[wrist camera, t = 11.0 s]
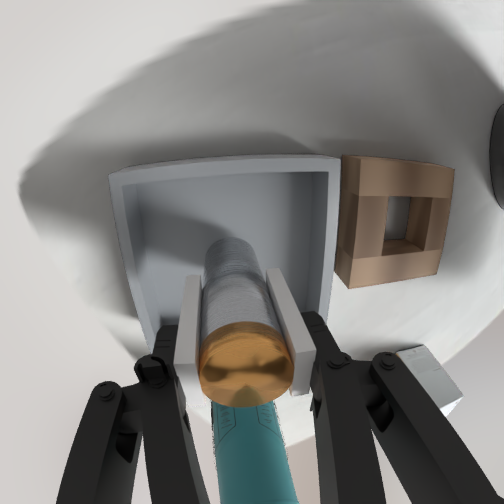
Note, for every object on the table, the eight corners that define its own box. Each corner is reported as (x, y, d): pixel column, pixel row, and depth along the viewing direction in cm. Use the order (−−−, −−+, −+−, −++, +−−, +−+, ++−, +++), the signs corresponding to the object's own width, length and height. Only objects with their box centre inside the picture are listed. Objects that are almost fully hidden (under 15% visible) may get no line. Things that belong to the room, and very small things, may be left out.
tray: (318, 154, 19) (340, 159, 16) (309, 311, 25) (323, 339, 21) (127, 166, 18) (108, 174, 14) (158, 325, 23) (151, 355, 20)
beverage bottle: (200, 371, 26) (208, 560, 8) (261, 356, 26) (308, 550, 8) (222, 403, 29) (239, 558, 11) (275, 390, 29) (316, 547, 11)
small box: (395, 350, 30) (436, 409, 20) (425, 343, 30) (465, 395, 21) (374, 390, 33) (404, 445, 23) (403, 382, 34) (434, 431, 24)
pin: (255, 235, 18) (297, 342, 9) (257, 282, 20) (291, 401, 10) (201, 239, 18) (191, 352, 9) (207, 286, 20) (206, 410, 10)
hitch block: (433, 163, 20) (454, 169, 18) (419, 260, 24) (436, 274, 22) (342, 154, 19) (360, 158, 17) (334, 271, 23) (348, 289, 21)
